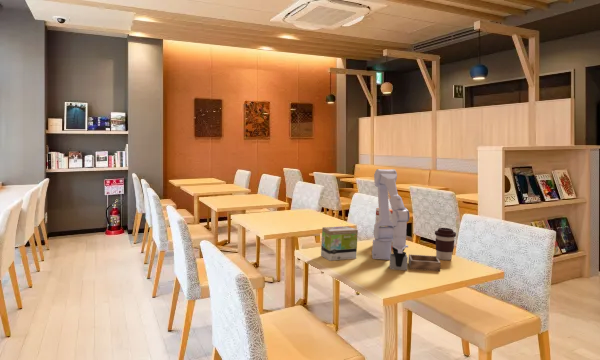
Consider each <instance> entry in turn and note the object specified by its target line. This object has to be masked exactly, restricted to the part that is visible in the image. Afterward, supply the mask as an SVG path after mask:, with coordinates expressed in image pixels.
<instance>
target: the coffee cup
mask: <svg viewBox="0 0 600 360" xmlns="http://www.w3.org/2000/svg"><path fill="white" fill-rule="evenodd" d="M434 235H435V251H436V253H435V254H436V255H435V256H437V258H438V259H439V260H441V261H451V260H452V257H453V252H454V247H455V237H456V236H457V233H456V232H455V231H454V230H453V228H449V227H438V229H437V230H435V231H434Z"/></svg>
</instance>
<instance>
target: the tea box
mask: <svg viewBox="0 0 600 360" xmlns="http://www.w3.org/2000/svg"><path fill="white" fill-rule="evenodd" d="M321 229H322V230H321V249H320V250H321V251H320V255H321V257H323V258H324V259H325V260H327V261H329V262H330V261H340V260H341V261H342V260H352V259H353V260H355V259H357V253H358V252H357V251H358V231H359V230H358V229H356V228H355V227H351V226H349V225H345V226H328V227H323V226H322V228H321Z"/></svg>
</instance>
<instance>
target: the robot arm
mask: <svg viewBox="0 0 600 360" xmlns="http://www.w3.org/2000/svg"><path fill="white" fill-rule="evenodd" d="M373 174H374V175H373V180H374V186H375V187H376V188H377V197H378V198H377V200H378V201H377V203H378V208H379V221H378V222H377V223H374V225H373V237H374V239H372V250H371V256H372V259H374V260H375V259H376V260H386V261H387V260H388V261H390V253H392V254H394V255H395V260H396V266H397V267H401V266H402V262H403V258H404V256H405V255H406V254H407V252H406V251H405V250H406V248H409V245H408V244H407V225H408V224H407V223H408V222H409V221H410V211H409V210H408V209H407V207H405V205H404V204H405V203H404V201H403V198H402V197H401V196H400V195H399V194H398V189H397V184H396V183H397V179H398V173H397V170H396V169H379V168H378V169H376V170H375V172H374V173H373ZM389 196H390V198H389ZM389 204H390V206H391V208H390V207H389ZM389 209H392V211H393V213H392V220H393V223H392V222H391V221H390V220H389ZM380 226H388V227H380ZM375 239H376V240H375ZM392 241H393V244H392ZM391 244H392V246H393V247H392V249H391Z"/></svg>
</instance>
